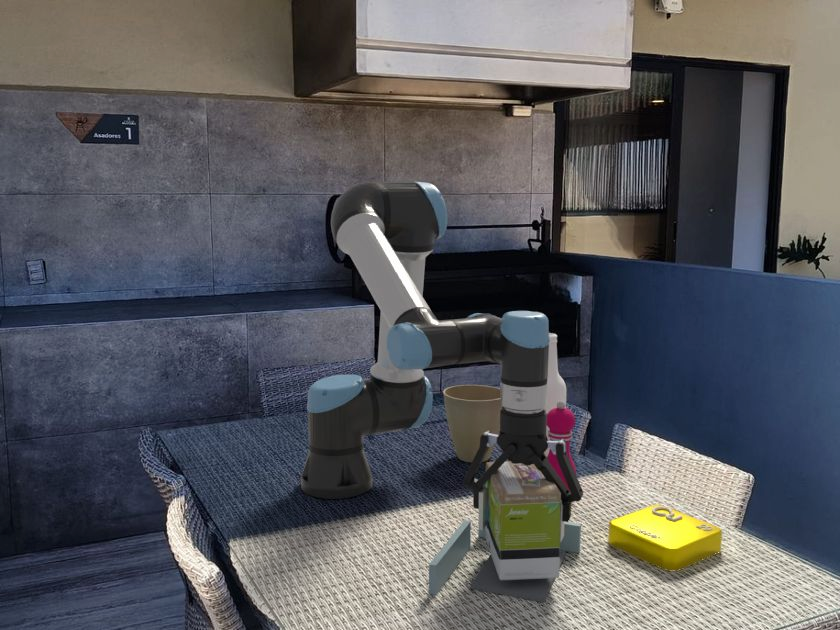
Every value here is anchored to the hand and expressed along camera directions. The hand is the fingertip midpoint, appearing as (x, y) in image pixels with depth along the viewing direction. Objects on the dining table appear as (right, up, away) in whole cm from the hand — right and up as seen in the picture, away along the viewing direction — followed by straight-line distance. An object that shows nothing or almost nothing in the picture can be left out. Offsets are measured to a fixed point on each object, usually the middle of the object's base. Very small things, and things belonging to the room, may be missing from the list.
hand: (520, 532), depth 135 cm
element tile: (+27, -6, +11) cm, 30 cm away
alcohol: (+12, +2, +55) cm, 57 cm away
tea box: (0, -5, +1) cm, 5 cm away
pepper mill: (+12, -1, +35) cm, 37 cm away
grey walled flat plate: (-2, -7, +1) cm, 7 cm away
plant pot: (-4, +2, +57) cm, 57 cm away
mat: (0, -7, +1) cm, 7 cm away
